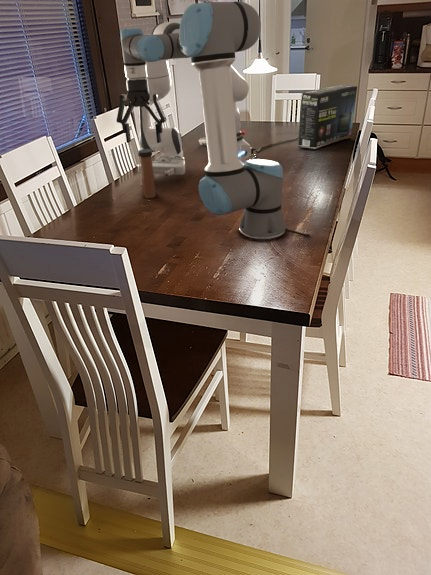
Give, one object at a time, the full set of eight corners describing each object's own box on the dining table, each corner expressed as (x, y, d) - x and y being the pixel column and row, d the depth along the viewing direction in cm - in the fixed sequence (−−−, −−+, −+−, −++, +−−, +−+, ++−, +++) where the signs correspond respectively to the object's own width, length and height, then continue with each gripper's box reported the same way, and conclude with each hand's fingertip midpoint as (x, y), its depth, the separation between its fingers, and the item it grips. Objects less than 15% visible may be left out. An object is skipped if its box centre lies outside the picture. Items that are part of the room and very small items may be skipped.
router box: (314, 151, 231) (318, 94, 217) (296, 148, 237) (299, 92, 224) (352, 138, 251) (358, 85, 238) (335, 135, 258) (340, 83, 245)
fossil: (222, 142, 237) (203, 124, 241) (211, 159, 244) (193, 141, 247) (239, 140, 251) (221, 123, 254) (229, 157, 258) (211, 140, 261)
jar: (142, 196, 184) (137, 151, 175) (152, 193, 186) (147, 149, 177) (147, 199, 180) (142, 154, 171) (157, 196, 183) (153, 152, 173)
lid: (136, 155, 175) (135, 150, 174) (148, 152, 178) (148, 148, 177) (142, 158, 172) (141, 153, 171) (154, 155, 174) (154, 150, 173)
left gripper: (142, 156, 201) (131, 165, 189) (187, 157, 197) (179, 166, 185) (144, 170, 204) (133, 180, 192) (188, 171, 200) (180, 181, 188)
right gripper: (101, 80, 160) (110, 144, 171) (166, 79, 156) (171, 144, 167) (108, 77, 166) (117, 139, 177) (171, 76, 162) (176, 139, 173)
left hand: (156, 173), depth 189 cm, fingers open, 8 cm apart
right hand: (143, 142), depth 172 cm, fingers open, 11 cm apart
